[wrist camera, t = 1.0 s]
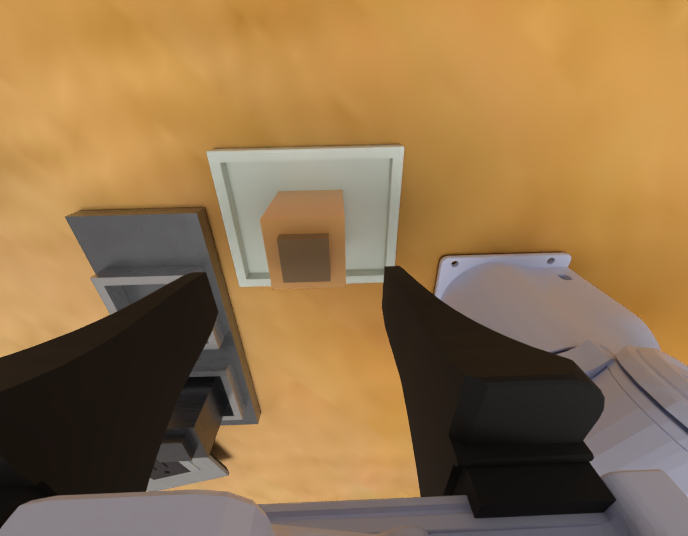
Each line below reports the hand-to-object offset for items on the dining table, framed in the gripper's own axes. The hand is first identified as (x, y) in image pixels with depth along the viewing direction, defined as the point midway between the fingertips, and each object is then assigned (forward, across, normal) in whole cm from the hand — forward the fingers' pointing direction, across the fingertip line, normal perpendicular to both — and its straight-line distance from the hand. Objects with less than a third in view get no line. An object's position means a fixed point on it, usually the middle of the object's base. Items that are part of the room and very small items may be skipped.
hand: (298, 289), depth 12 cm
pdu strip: (+8, +11, +10) cm, 17 cm away
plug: (+8, 0, 0) cm, 8 cm away
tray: (+8, 0, 0) cm, 9 cm away
